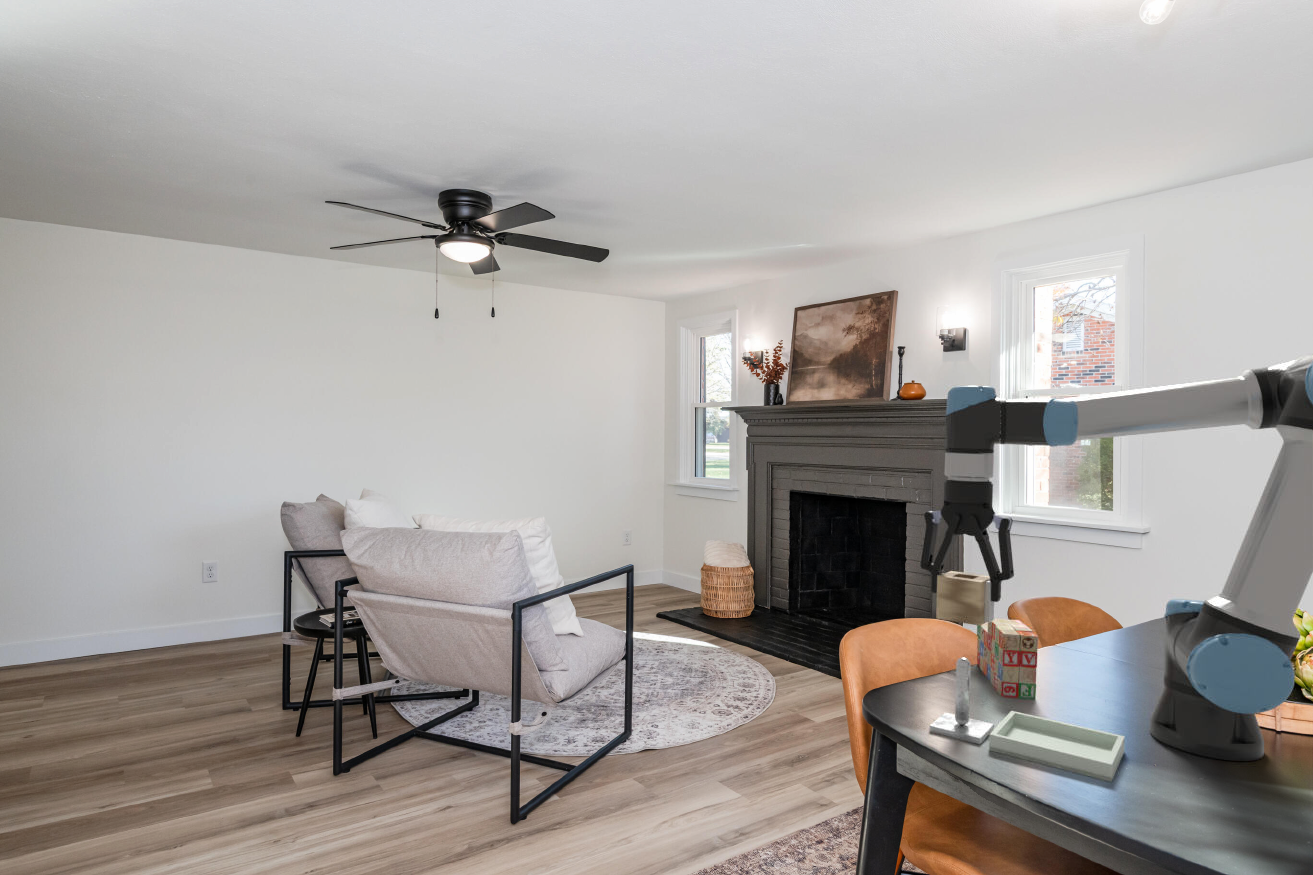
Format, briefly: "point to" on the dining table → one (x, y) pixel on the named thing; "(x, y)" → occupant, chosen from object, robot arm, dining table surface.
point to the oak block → (961, 597)
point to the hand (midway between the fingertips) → (964, 616)
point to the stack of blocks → (1008, 657)
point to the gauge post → (962, 712)
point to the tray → (1059, 745)
